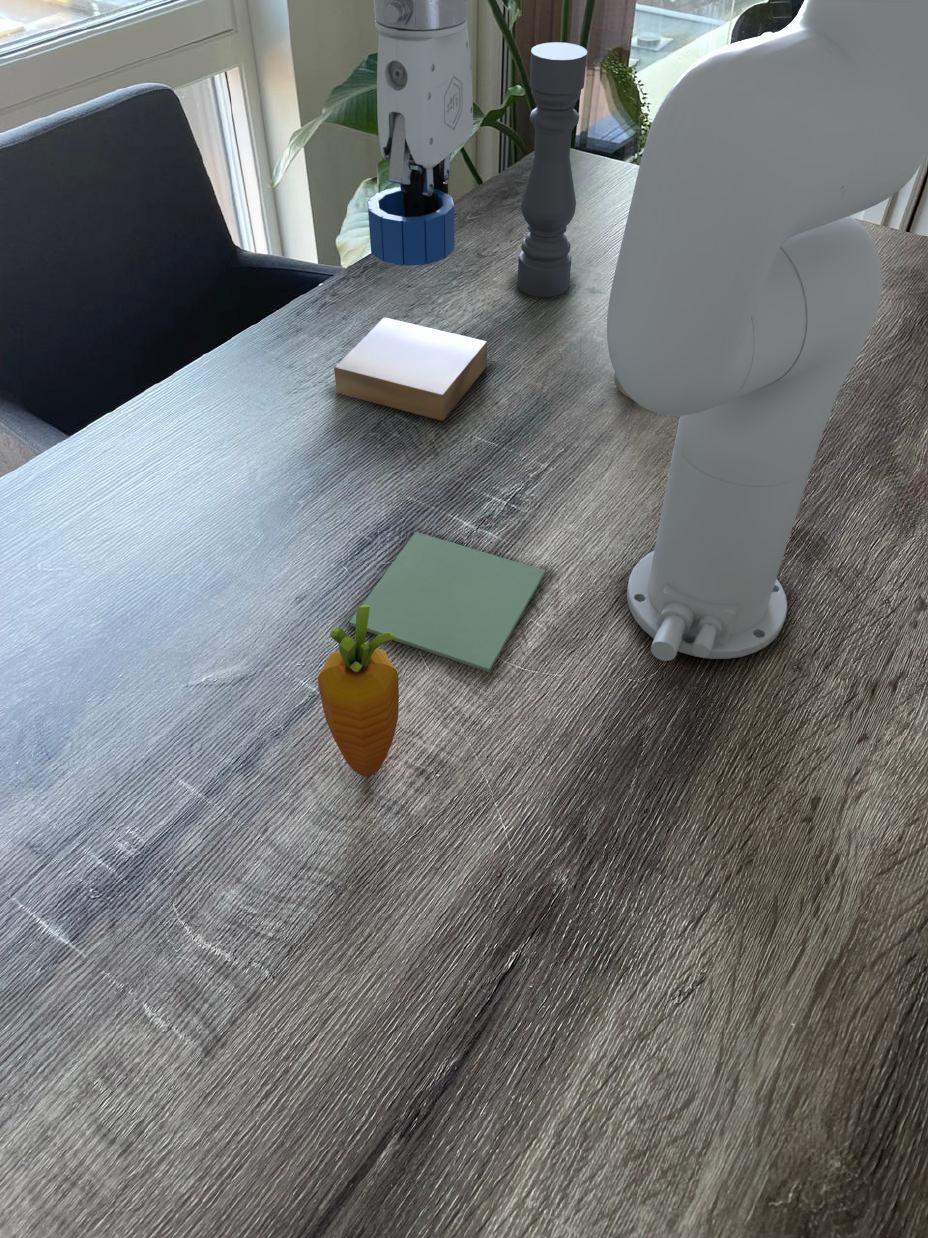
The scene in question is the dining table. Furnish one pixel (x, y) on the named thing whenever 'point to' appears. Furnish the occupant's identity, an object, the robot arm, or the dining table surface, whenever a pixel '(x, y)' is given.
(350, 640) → the carrot
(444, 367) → the platform
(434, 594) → the mat
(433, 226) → the ring
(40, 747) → the dining table surface
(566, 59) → the candle holder
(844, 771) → the dining table surface
